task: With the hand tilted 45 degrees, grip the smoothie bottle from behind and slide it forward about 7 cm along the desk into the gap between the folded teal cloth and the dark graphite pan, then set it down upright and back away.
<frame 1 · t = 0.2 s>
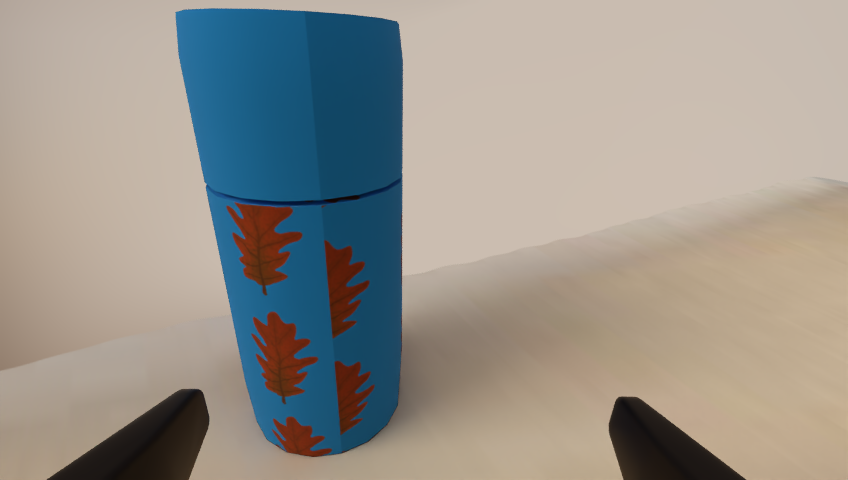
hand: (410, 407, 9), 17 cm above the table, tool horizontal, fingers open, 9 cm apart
thermos: (330, 396, 31), on the table
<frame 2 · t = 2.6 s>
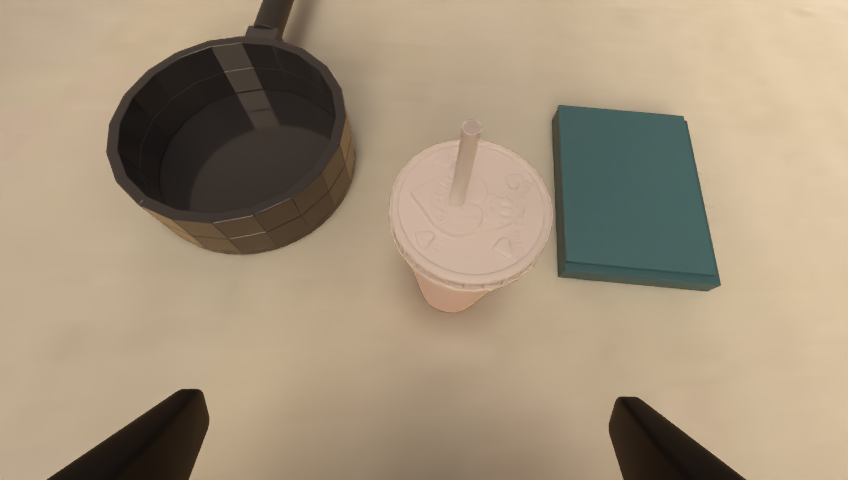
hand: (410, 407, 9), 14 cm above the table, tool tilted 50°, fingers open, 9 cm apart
pan: (256, 163, 27), on the table
smoothie: (450, 283, 25), on the table
cloth: (622, 198, 27), on the table
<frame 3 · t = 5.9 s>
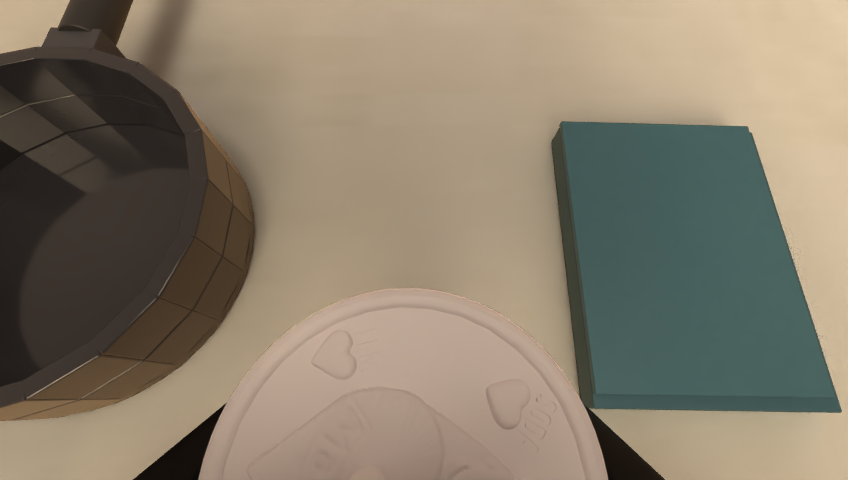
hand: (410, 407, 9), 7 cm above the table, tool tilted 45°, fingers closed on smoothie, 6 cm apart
pan: (97, 248, 17), on the table
smoothie: (410, 433, 15), on the table, touching gripper
cloth: (666, 261, 18), on the table
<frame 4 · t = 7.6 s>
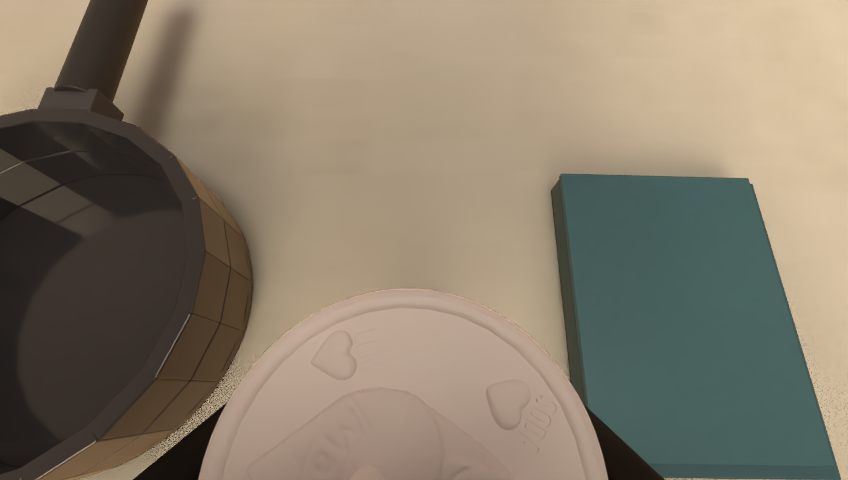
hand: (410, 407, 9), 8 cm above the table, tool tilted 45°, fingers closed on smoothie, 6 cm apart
pan: (95, 304, 17), on the table
smoothie: (410, 433, 15), point 1 cm above the table, touching gripper
cloth: (666, 316, 18), on the table
pan handle: (109, 31, 18), point 3 cm above the table
when the fingers open (7 cm above the table, at t = 9.5 s): smoothie stays where it is, on the table.
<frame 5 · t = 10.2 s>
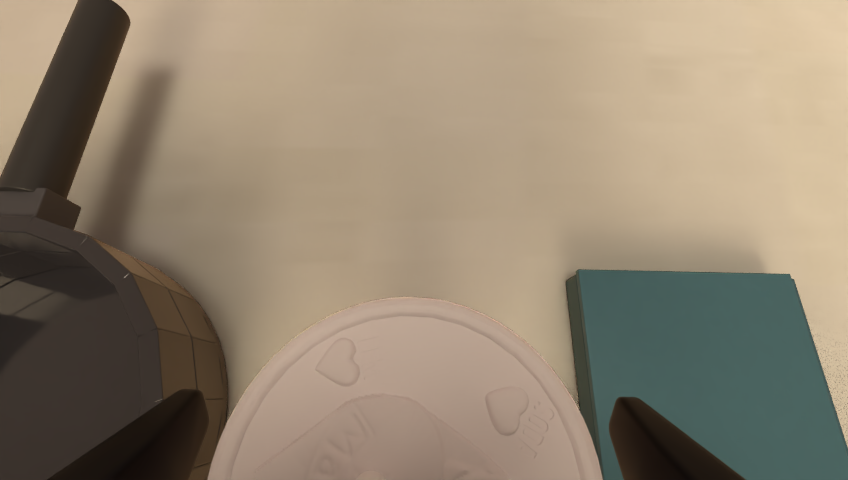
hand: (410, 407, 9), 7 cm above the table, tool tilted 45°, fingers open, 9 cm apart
pan: (47, 425, 15), on the table
smoothie: (411, 435, 15), on the table
cloth: (699, 436, 16), on the table
pan handle: (66, 111, 16), point 3 cm above the table
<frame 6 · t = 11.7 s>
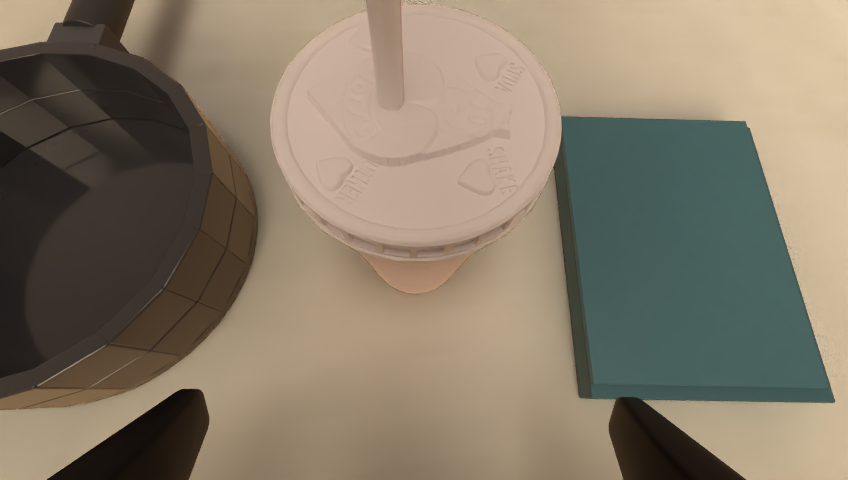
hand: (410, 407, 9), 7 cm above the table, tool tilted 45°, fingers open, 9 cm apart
pan: (103, 241, 18), on the table
smoothie: (415, 253, 18), on the table
cloth: (664, 254, 18), on the table
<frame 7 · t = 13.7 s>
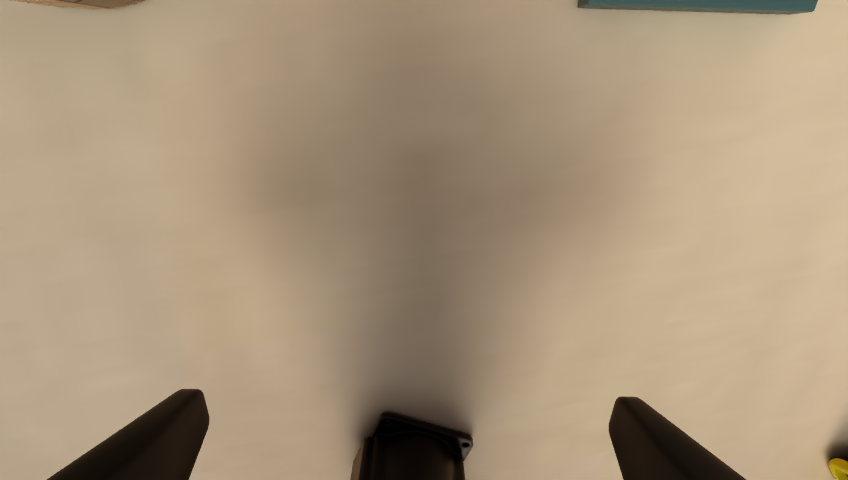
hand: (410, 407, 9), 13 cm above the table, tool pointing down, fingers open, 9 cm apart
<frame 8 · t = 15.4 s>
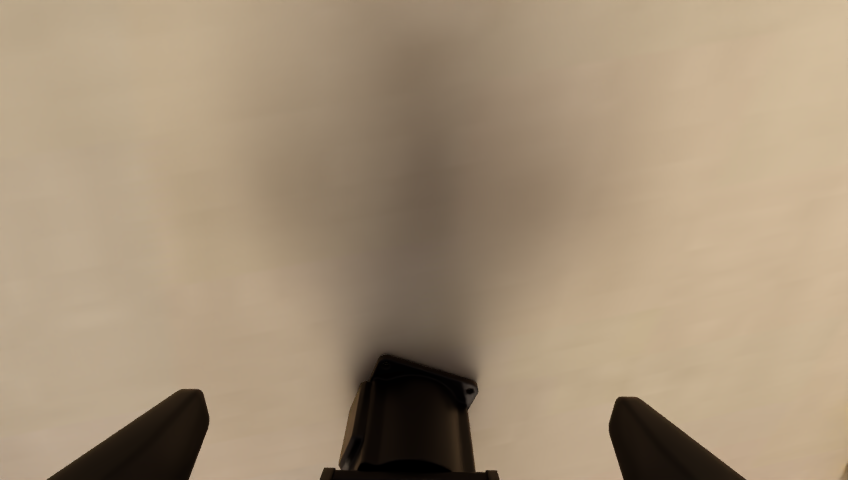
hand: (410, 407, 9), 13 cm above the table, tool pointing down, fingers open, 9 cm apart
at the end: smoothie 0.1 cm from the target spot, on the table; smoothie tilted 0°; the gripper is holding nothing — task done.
